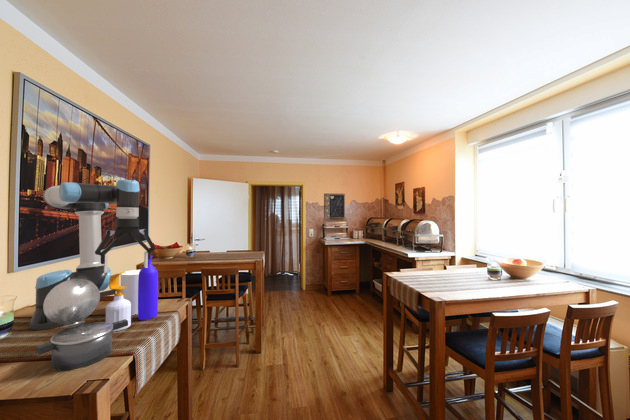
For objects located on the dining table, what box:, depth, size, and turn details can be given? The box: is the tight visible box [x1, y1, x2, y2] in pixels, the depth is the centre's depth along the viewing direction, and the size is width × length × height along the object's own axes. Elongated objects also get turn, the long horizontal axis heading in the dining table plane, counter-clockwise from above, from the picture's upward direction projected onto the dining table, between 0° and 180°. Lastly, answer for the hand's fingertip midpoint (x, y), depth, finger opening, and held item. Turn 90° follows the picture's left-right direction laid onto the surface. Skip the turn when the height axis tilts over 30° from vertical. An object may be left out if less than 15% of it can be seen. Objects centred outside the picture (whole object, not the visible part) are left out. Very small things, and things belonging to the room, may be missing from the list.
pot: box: [36, 319, 128, 372], centre depth 94 cm, size 17×25×9 cm, turn 150°
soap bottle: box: [105, 271, 132, 333], centre depth 118 cm, size 9×9×25 cm
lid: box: [43, 279, 117, 330], centre depth 101 cm, size 17×22×2 cm
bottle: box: [137, 255, 159, 321], centre depth 129 cm, size 8×8×30 cm
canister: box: [120, 268, 142, 316], centre depth 139 cm, size 14×14×20 cm
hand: (126, 269), depth 109 cm, fingers open, 13 cm apart
